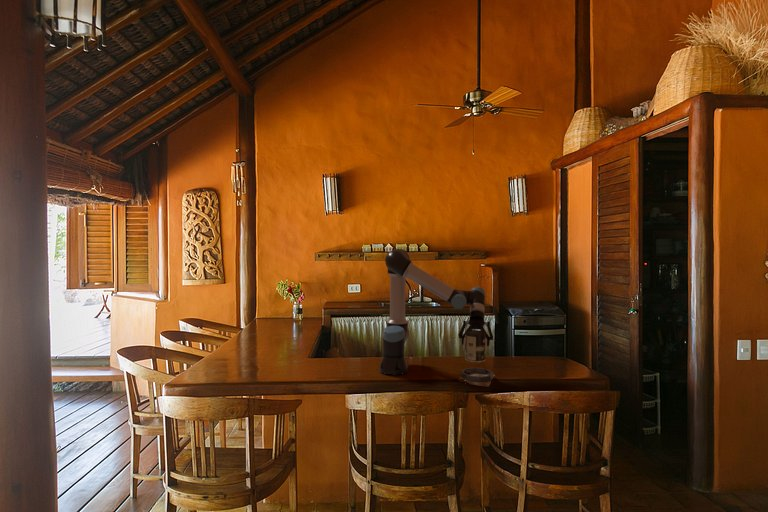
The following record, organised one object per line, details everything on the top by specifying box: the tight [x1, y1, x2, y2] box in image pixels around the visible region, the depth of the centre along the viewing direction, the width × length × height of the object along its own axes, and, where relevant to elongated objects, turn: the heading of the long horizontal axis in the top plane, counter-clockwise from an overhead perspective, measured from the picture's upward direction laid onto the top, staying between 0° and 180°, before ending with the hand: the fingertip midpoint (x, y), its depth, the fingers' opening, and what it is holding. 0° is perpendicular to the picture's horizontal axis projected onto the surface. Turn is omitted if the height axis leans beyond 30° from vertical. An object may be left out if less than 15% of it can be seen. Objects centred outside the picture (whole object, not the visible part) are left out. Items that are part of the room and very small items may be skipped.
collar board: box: [459, 366, 496, 388], centre depth 241 cm, size 15×15×4 cm
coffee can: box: [464, 329, 487, 363], centre depth 241 cm, size 10×10×14 cm
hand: (475, 350), depth 238 cm, fingers closed on coffee can, 10 cm apart
